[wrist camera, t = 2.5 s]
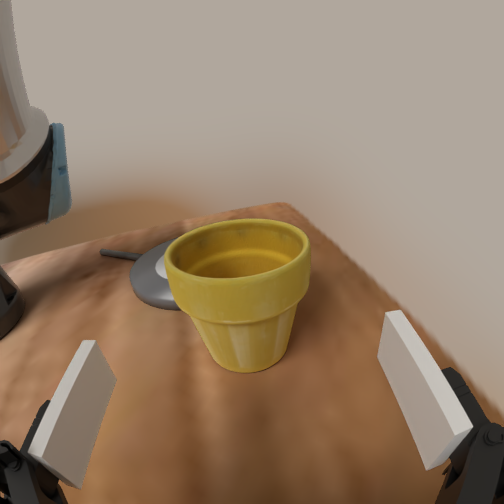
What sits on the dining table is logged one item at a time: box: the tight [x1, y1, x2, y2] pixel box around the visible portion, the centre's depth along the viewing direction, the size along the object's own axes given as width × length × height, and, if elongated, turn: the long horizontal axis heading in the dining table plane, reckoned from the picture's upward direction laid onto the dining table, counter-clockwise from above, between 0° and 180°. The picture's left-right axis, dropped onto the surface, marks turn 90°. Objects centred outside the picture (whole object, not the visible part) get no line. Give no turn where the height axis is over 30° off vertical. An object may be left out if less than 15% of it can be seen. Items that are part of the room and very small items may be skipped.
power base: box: [100, 237, 181, 310], centre depth 41 cm, size 30×18×2 cm, turn 67°
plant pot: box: [164, 219, 311, 373], centre depth 23 cm, size 10×10×10 cm
